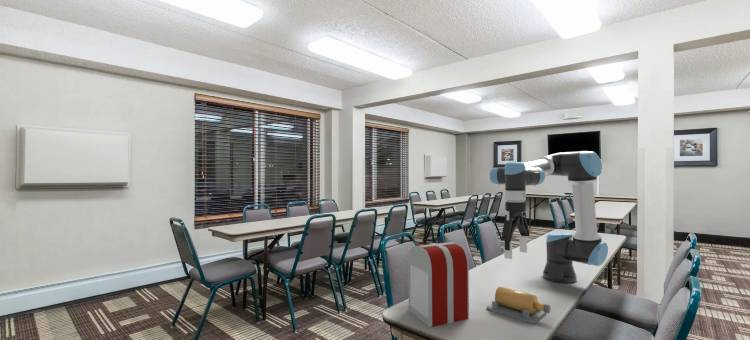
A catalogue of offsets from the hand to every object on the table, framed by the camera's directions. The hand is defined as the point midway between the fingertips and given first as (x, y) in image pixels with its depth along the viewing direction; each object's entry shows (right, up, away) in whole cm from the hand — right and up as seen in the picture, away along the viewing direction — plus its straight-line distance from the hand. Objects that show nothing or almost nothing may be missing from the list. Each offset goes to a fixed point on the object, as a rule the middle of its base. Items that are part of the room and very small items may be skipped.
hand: (516, 255), depth 132 cm
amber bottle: (+2, -21, -2) cm, 21 cm away
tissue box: (-31, -23, -2) cm, 39 cm away
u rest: (0, -22, 0) cm, 22 cm away
